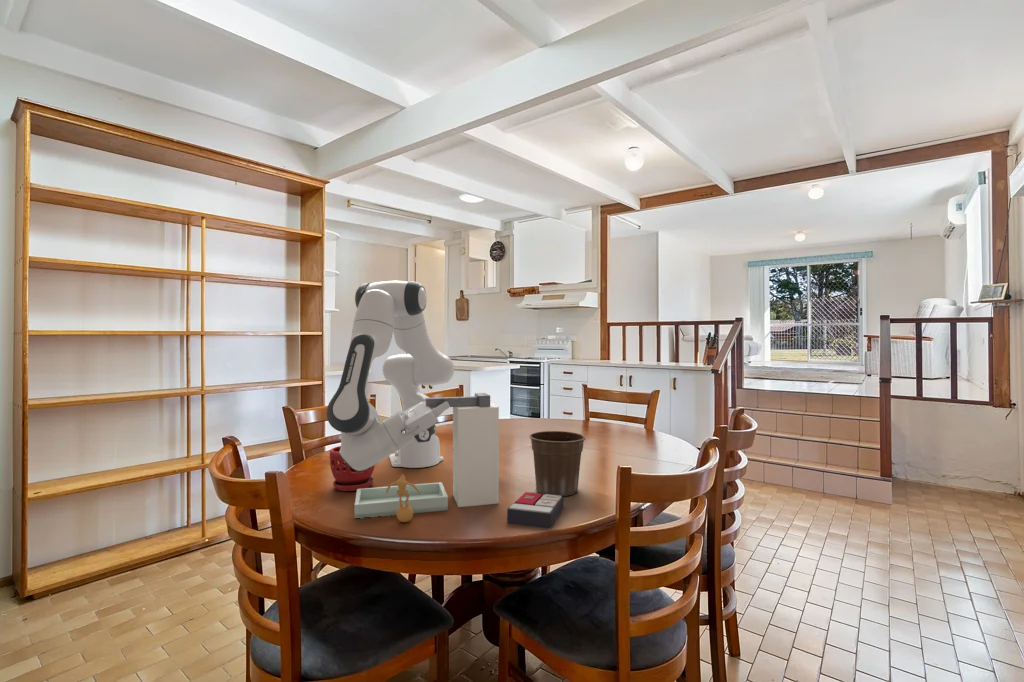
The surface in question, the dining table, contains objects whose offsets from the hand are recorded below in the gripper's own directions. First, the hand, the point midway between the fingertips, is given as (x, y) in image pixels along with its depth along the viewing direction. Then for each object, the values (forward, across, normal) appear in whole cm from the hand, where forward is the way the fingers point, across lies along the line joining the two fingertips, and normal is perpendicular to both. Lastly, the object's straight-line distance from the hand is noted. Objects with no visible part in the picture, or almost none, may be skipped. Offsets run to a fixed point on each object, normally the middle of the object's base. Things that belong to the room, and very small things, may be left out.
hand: (446, 401), depth 130 cm
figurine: (-24, -12, +18) cm, 33 cm away
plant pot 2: (+14, +1, +40) cm, 43 cm away
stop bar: (+2, 0, +3) cm, 3 cm away
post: (-7, 0, +28) cm, 29 cm away
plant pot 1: (-36, +21, +11) cm, 43 cm away
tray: (-24, 0, +18) cm, 30 cm away
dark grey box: (+4, -16, +35) cm, 38 cm away
